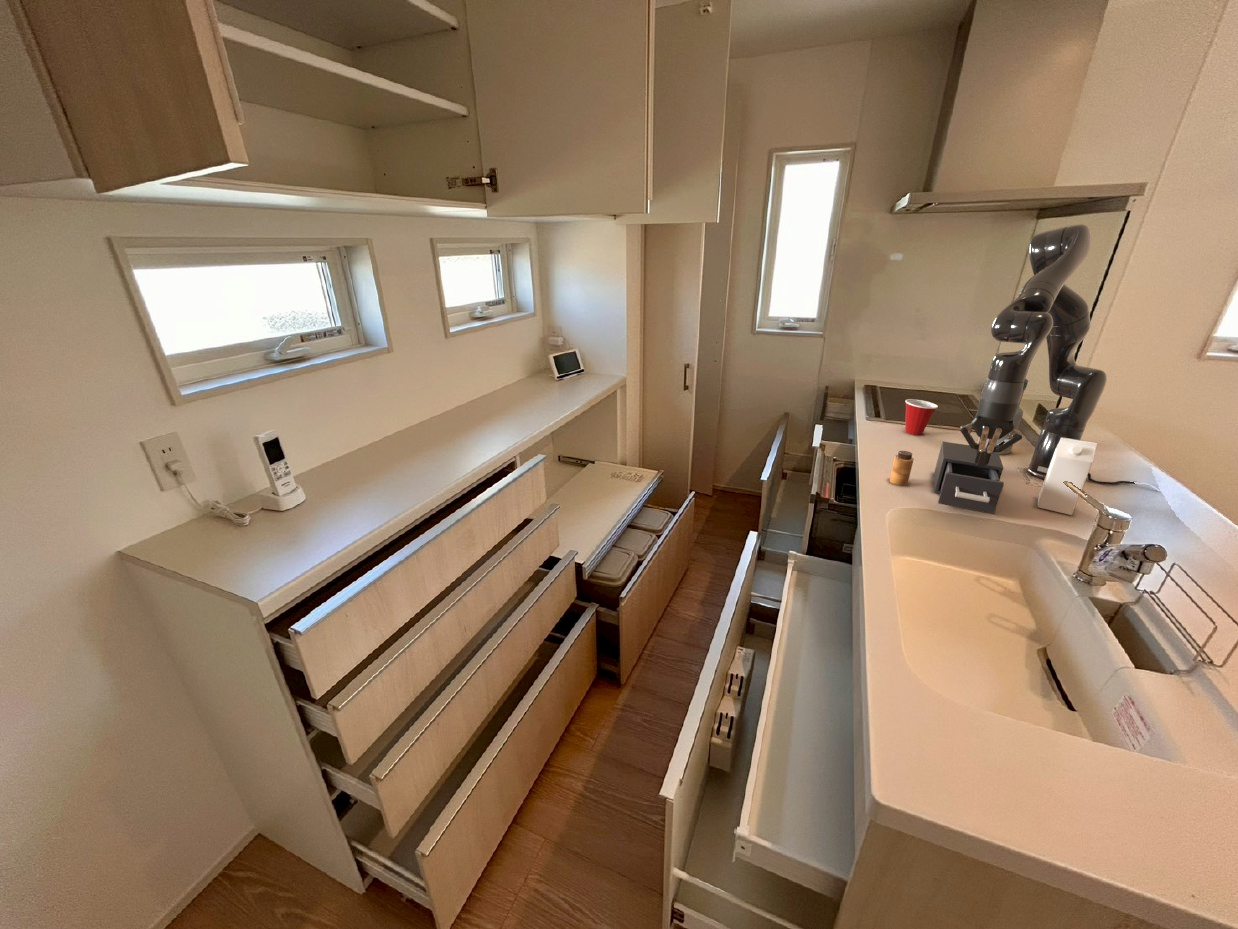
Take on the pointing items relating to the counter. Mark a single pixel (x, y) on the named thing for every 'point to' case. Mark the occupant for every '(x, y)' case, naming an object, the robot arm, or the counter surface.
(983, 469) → the drawer
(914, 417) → the plastic cup
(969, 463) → the small drawer unit
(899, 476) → the pepper mill
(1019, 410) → the water bottle
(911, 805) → the counter surface
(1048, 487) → the milk carton
